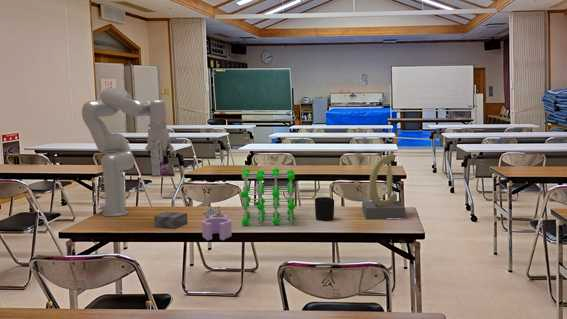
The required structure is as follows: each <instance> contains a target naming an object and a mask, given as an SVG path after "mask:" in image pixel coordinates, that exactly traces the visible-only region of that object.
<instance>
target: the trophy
mask: <svg viewBox="0 0 567 319" xmlns="http://www.w3.org/2000/svg"><path fill="white" fill-rule="evenodd" d="M396 157H397V154H393V153H392V154H387V155H383V156H382V157H380V158H379V159H378V160H377V161H376V162H375V163H374V165H373V167H372V169H371V172H370V175H369V184H368V186H369V194H370V199H371V200H362V201H361V202H362V203H361V204H362V205H361V206H362V208H361V210H362V213H363V217H364V218H365V220H388V219H387V218H405V219H406V206H404V205H403V204H402V202H401V201H400V200H397V199H398V196H397V193H393V191H392V190H393V168H392V165H391V162H392V161H393V162H395V160H396ZM387 162H388V165H387V169H386V189H387V194H388V198H387V199H385V200H384V199H383V200H382V199H381V198H380V197H379V194H378V188H377V187H378V186H377V180H378V174H379V171H380V169H381V168H382V166H383V165H384V164H386V163H387ZM392 193H393V195H392ZM381 218H382V219H381Z"/></svg>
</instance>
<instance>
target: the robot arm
mask: <svg viewBox="0 0 567 319" xmlns="http://www.w3.org/2000/svg"><path fill="white" fill-rule="evenodd" d="M99 95H100V96H99V98H100V99H95V100H88V101H87V102H85V103H84V104H83V105H82V107H81V116H82V120H83V122H84V124H85V125H86V127H87V128H88V130H89V132H90V134H91V137H92V139H93V142H94V143H95V146H96V149H97V150H98V151H99V152H100V153H103V154H104V155H103V156H102V157H101V159H100V165H101V169H102V174H103V181H104V182H103V184H104V202H105V204H104V205H101V206H100V207H99V210H101V211H103V212H102V216H103V217H123V216H126V215H128V214H129V210H127V209H125V208H126V207H125V205H126V204H125V203H126V201H125V184H124V178H123V175H122V174H121V171H126V170H130V169H132V168H133V167H134V165H135V156H134V154H133V152H132V150H131V148H130V146H129V143H128V141H127V139H126V137H125V136H124V135H123V134H121V133H118V132H115V133H111V132H110V131H109V129H108V127H107V125H106V123H105V122H104V121H103V120H101V118H102V117H112V116H114V115H116V114H117V113H118V112H119V111H121V112H122V113H124V114H125V115H129V116H132V117H147V116H148V117H149V123H148V124H147V127H148V128H149V129H148V133H147V145H146V147H145V148H144V149H145V151H146V152H147V153H148V154H149V155H150V156H149V157H151V151H150V142H151V141H161V148H162V150H163V153H164V156H163V162H164V165H166V164H168V156H170V154H171V153H172V152H173V151H174V150H175V148H174V146H173V145H172V144H171V139H170V134H169V129H167V117H166V116H167V115H166V114H167V112H166V102H165V101H164V100H161V99H158V100H157V99H156V100H153V99H147V100H146V99H145V100H144V99H142V100H141V99H140V100H139V99H138V100H136V99H135V100H134V99H133V97H132V95H131V94H130V93H128V91H127V90H126V89H124V88H114V87H113V88H110V87H109V88H106V89H103V90H102V91H101V92H100V94H99ZM100 117H101V118H100Z"/></svg>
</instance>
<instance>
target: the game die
mask: <svg viewBox="0 0 567 319" xmlns="http://www.w3.org/2000/svg"><path fill="white" fill-rule="evenodd" d="M203 215H204V216H205V219H208V218H209V216H211V215H217V218H221V217H222V215H223V214H222V212H221V210H220V206H218V207H213V206H210V205H209V208H207V210H206V211H205V212H203Z"/></svg>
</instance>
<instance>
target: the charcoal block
mask: <svg viewBox="0 0 567 319" xmlns="http://www.w3.org/2000/svg"><path fill="white" fill-rule="evenodd" d="M187 224H188V212H177V211H176V212H175V211H165V212H162V213H160V214H157V215H154V227H155V228H161V229H162V228H164V229H165V228H166V229H174V230H175V229H178V228H180V227H182V226H185V225H187Z"/></svg>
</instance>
